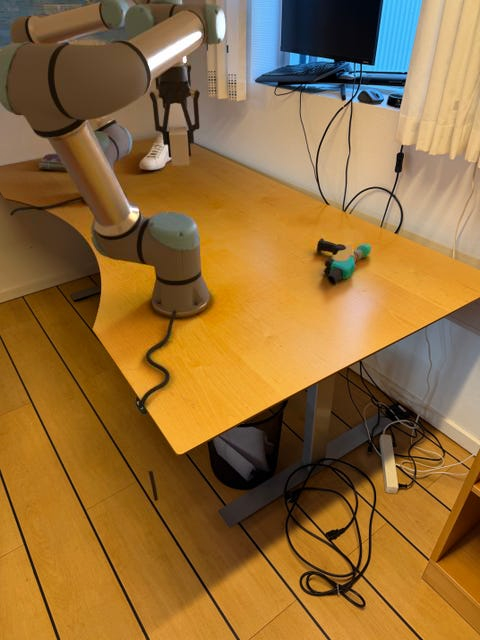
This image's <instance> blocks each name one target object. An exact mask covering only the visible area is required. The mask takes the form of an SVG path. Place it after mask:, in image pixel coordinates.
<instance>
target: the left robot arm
mask: <svg viewBox="0 0 480 640" xmlns="http://www.w3.org/2000/svg"><path fill="white" fill-rule="evenodd" d="M137 4H151V0H104V1H103V0H102V1H99V2H95V3H91V4H88V5H84V6H81V7H76V8H73V9H69V10H66V11H62V12H58V13H55V14H48V13H38V14H32V15H25V16H24V15H23V16H20V17H17V18H16V19H14V20H13V21H12V23H11V25H10V28H9V36H10V40H11V42H12V44H14V43H24V42H32V43H34V44H68V45H71V44H70V43H69V41H70V40H74V39H77V38H82V37H87V36H90V35H94V34H98V33H102V32H107V31H110V30H115V29H119V28H123V27H124V28H125V25H124V18H125V14H126V12H127V10H128V9H129V8H130V7H132V6H135V5H137ZM184 64H185V65H186V66H187V75H188V84H189V86H190V88H192V80H191V71H192V65H191V64H190V63H187V62H186V63H184ZM154 81H155V82H154V83H155V90H157V89H158V87H159V76H158V77H157V78H155V79H154ZM158 96H159V97H158V99H159V98H160V99H161V100H162V108H163V109H164V110H165V104H166V100H165V99H164V98H163V97H162V95H161V94H160V93H159V94H158ZM189 97H191V93H190V92H189V94H188V95H187V97H186V99H185V103H186V107H187V108H188V98H189ZM184 117H185V116H184ZM88 122H89V124H90V126H91V128H92V130H93V132H94V134H95V136H96V138H97V140H98V142H99V144H100V146H101V148H102V150H103V152H104V154H105V156H106V158H107V160H108V162H109V164H110V166H111V168H112V170H113V172H114V173H115V168H114V164H115V163H117V162H118V161H120V160H123V159H124V158H126V157H127V155H128V154H130V152H131V150H132V148H133V139H132V135H131V134H130V131H129V130H128V129H127V128H126V127H124V126H122V125H120V124H119V123H118V122H117V120H116V119H115V118H113V117H111V116H109V115H106V116H104V117H100V118H97V119H90V120H88ZM80 200H82V201H83V202H84V203H85V204H87V203H86V202H85V200H84V198H83V197H82V196H78V197H75V198H71V199H68V200H64V201H61V202H57V203H53V204H49V205H43V206H39V205H38V206H36V205H35V206H25V207H24V206H23V207H17V208H14V209H13V210H12V211H11V212H10V214H9V215H10V216H13V215H14V214H15V213H16V212H18V211H26V210H27V211H28V210H45V209H51V208H55V207H60V206H63V205H66V204H69V203H73V202H76V201H80Z"/></svg>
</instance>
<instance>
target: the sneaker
mask: <svg viewBox="0 0 480 640" xmlns="http://www.w3.org/2000/svg"><path fill="white" fill-rule="evenodd" d="M170 161H172V160H171V157H170V158H169V153H168V145H164V143H163V134H162V133H161V134H158V135H157V137H156V139H155V140H154V142H153V143H152V146H151V148H150V150H149V151H148V153H147V154H146V155H145V156H144V157H143V158H142V159H141V160H140V162H139V169H141V170H144V171H156V170H160V169H162V168H164V167H165V166H166V164H167V163H168V162H170Z"/></svg>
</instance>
